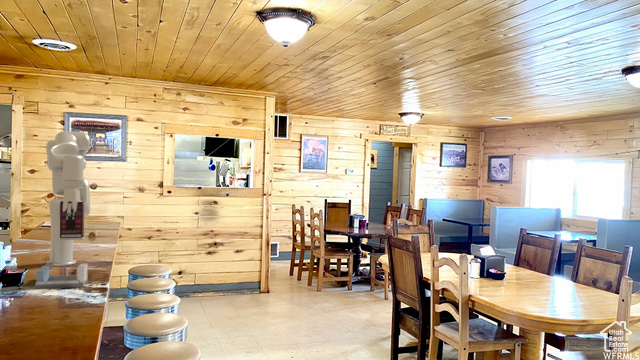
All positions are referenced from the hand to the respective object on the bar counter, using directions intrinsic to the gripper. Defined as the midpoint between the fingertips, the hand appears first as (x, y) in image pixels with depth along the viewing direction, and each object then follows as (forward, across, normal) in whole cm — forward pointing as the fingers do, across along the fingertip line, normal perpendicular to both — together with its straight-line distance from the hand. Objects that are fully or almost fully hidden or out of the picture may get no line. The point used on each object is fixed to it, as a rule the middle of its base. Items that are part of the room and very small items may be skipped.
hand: (71, 228), depth 197 cm
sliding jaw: (+20, +2, -9) cm, 22 cm away
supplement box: (+5, 0, 0) cm, 5 cm away
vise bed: (+22, +6, -2) cm, 23 cm away
